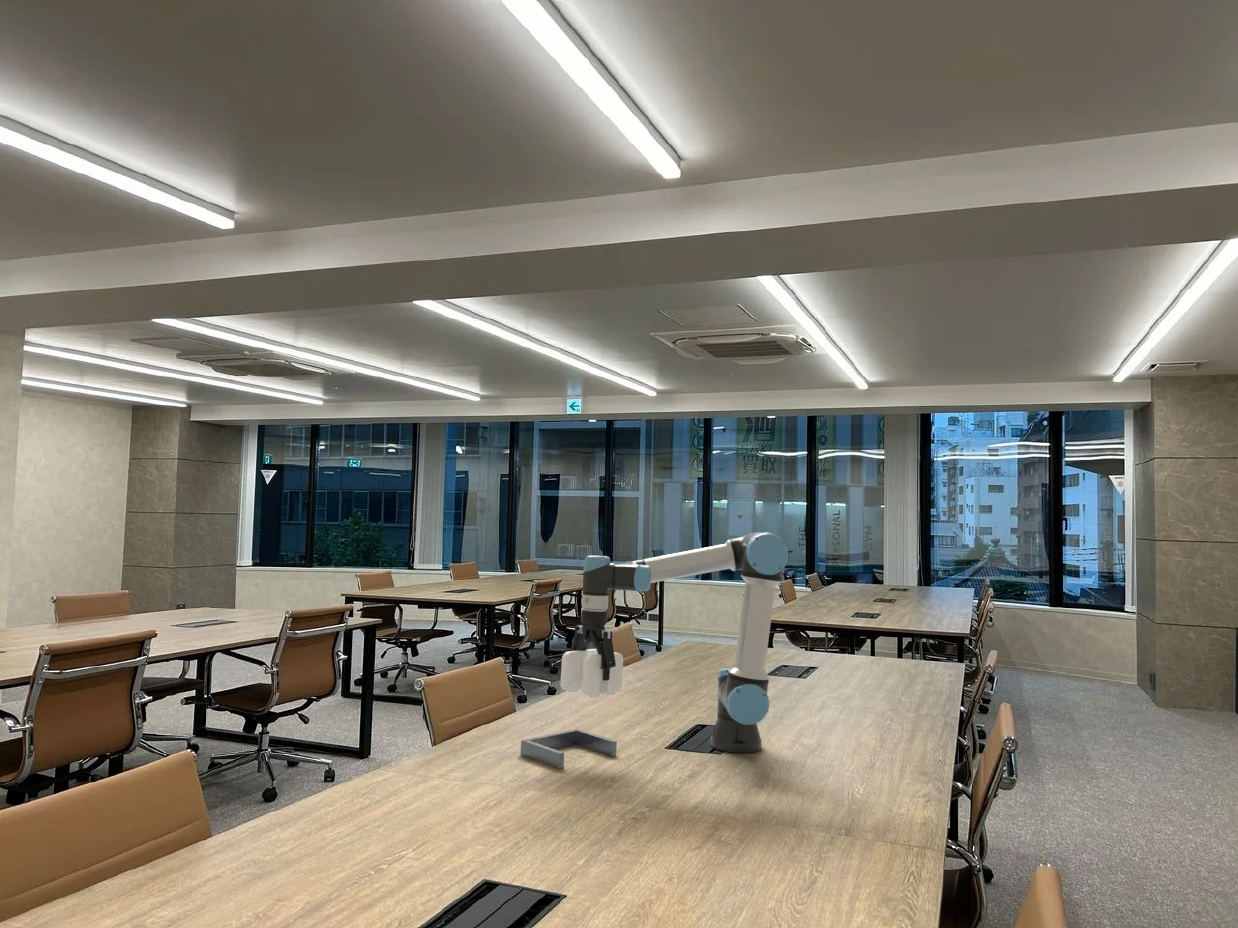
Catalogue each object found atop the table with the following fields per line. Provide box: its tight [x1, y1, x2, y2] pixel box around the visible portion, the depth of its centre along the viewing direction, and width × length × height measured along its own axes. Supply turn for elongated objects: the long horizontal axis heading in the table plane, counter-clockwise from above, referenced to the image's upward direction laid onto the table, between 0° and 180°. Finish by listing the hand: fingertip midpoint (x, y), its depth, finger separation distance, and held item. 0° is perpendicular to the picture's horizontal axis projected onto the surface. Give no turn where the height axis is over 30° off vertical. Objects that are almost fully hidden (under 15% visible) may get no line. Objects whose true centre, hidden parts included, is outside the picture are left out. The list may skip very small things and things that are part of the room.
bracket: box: [520, 728, 618, 770], centre depth 237 cm, size 17×21×4 cm
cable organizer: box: [560, 648, 624, 698], centre depth 239 cm, size 15×11×12 cm
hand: (590, 688), depth 239 cm, fingers closed on cable organizer, 10 cm apart
